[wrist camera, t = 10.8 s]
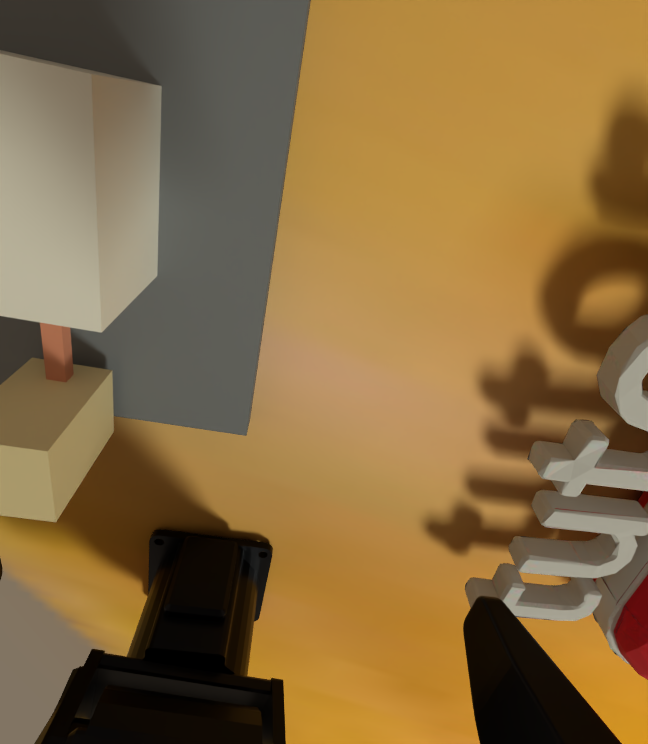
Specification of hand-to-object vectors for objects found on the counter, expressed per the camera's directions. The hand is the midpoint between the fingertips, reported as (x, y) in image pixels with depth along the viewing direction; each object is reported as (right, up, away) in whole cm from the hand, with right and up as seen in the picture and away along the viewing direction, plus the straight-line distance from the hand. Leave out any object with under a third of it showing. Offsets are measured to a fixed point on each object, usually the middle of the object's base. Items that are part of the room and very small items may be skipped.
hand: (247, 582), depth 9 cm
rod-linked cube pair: (-8, +8, +8) cm, 13 cm away
